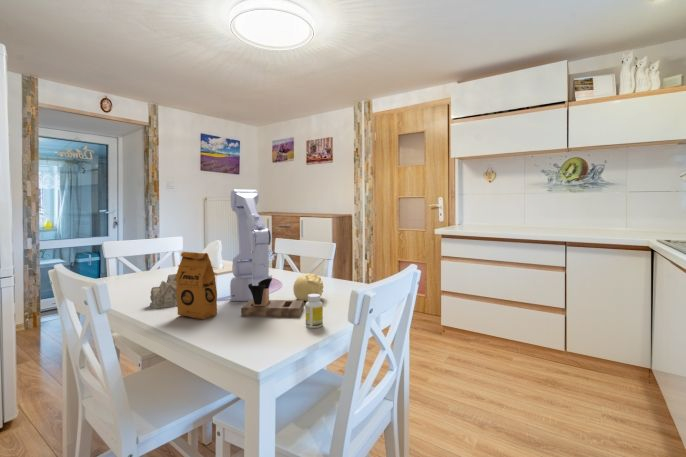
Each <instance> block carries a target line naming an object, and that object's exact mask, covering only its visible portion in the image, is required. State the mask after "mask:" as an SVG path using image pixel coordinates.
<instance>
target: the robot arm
mask: <svg viewBox="0 0 686 457" xmlns="http://www.w3.org/2000/svg"><path fill="white" fill-rule="evenodd" d="M258 202H259V192H258V190H256V189H235V188H232V190H231V191H230V208H231V212H234V213H235V215H236V221H237V222H236V223H237V235H238V236H237V240H238V250H239V252H238V253H237V254H236V255H235V256H234V257H233V259H232V265H231V266H232V268H231V269H232V275H233V277H231V279H230V284H229V288H230V289H229V290H230V291H229V292H230V299H229V301H231V302H232V301H233V302H248V301H249V300H254V303H255V304H257V305H260V304H261V303H262V296H263V291H264V289H269V290H270V285H271V284H272V281H273V275H271V274H270V258H269V256H270V255H269V254H270V253H269V247H270V245H271V242H272V234H271V230H270V229H269V228H268V227H266V225H265V223H264V220H263V218H262V215H260V214H258V209H257V205H258Z"/></svg>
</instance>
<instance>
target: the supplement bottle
mask: <svg viewBox="0 0 686 457" xmlns="http://www.w3.org/2000/svg"><path fill="white" fill-rule="evenodd" d="M308 300H309V301H306V302H305V327H307V328H310V329H316V328H317V329H319V328H321V327H322V326H323V323H324V321H323V319H324V317H323V314H324V313H323V312H324V311H323V309H324V308H323V307H324V306H323V304H324V303H323V302H322V301H321V296H320V294H309V295H308Z"/></svg>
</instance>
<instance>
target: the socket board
mask: <svg viewBox="0 0 686 457" xmlns="http://www.w3.org/2000/svg"><path fill="white" fill-rule="evenodd" d="M304 306H305V304H304V300H298V299H297V300H296V299H269V305H268V306H253V300H249V301H246V302H245V304H244V305H242V306H241V307H240V315H241V316H240V317H263V318H264V317H270V318H271V317H272V318H273V317H275V318H278V317H279V318H300V317H301V314H302V312H303V310H304V309H305V308H304Z"/></svg>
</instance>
